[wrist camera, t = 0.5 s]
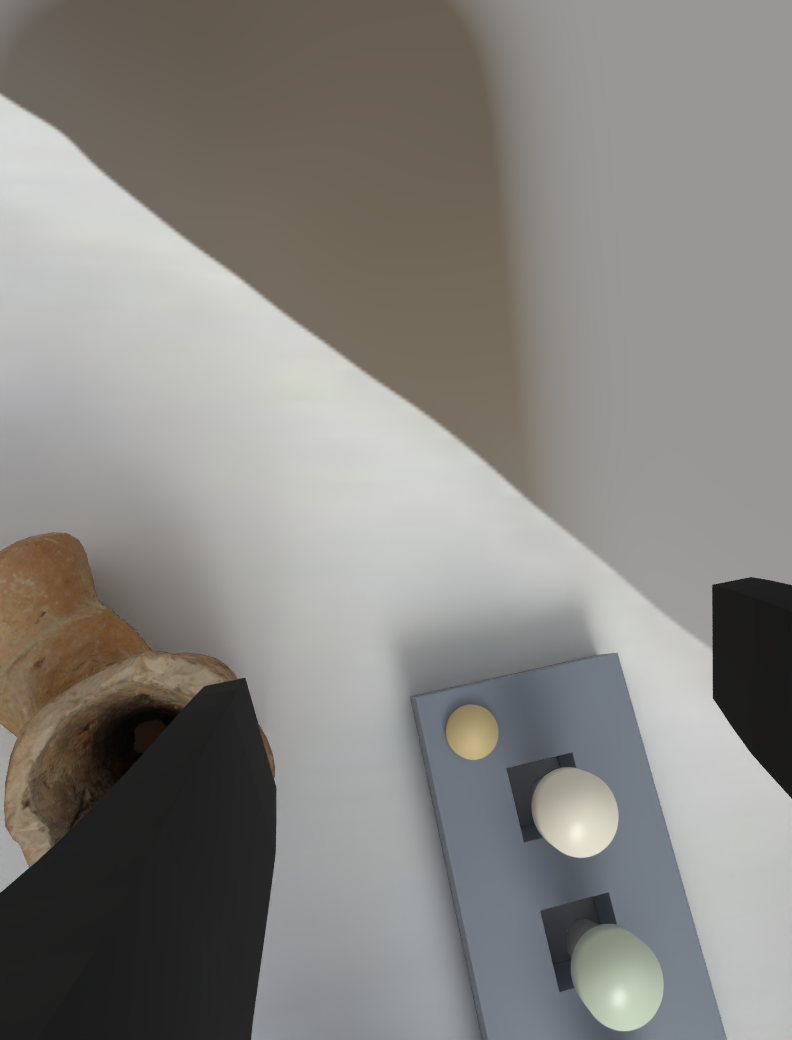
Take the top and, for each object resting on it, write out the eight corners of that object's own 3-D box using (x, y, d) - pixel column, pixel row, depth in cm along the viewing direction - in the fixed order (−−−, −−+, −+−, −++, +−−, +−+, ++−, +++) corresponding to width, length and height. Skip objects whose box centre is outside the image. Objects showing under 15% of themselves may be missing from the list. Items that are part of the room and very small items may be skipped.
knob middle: (630, 973, 28) (674, 1017, 24) (560, 993, 28) (594, 1041, 24) (609, 892, 29) (649, 923, 25) (540, 911, 29) (570, 946, 25)
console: (720, 1097, 30) (758, 1138, 27) (508, 1164, 28) (526, 1215, 26) (597, 655, 34) (619, 652, 31) (410, 696, 33) (416, 698, 30)
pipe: (82, 528, 34) (-23, 465, 24) (327, 730, 32) (320, 749, 23) (-54, 671, 32) (-230, 664, 22) (202, 893, 30) (134, 992, 20)
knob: (592, 825, 30) (628, 846, 26) (524, 843, 29) (551, 866, 25) (572, 752, 30) (605, 762, 27) (506, 768, 30) (530, 780, 26)
